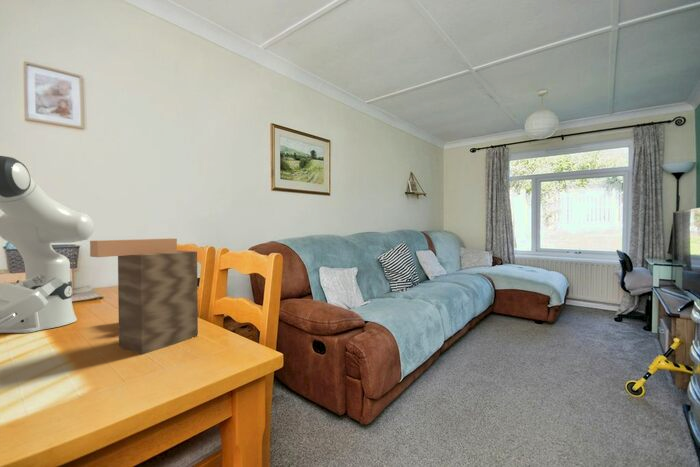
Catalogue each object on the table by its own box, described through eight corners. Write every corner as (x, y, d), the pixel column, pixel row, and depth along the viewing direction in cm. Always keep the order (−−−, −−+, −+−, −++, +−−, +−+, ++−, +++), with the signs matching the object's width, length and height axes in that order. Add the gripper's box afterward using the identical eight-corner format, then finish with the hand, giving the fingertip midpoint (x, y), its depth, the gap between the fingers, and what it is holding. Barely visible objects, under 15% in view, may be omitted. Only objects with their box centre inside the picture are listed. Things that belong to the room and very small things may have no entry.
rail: (97, 257, 77) (97, 241, 77) (90, 256, 79) (90, 240, 79) (176, 251, 95) (176, 238, 95) (169, 251, 97) (169, 238, 97)
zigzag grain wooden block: (142, 354, 83) (140, 255, 82) (118, 345, 89) (117, 253, 88) (197, 336, 97) (197, 251, 96) (174, 329, 103) (173, 250, 102)
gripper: (-27, 318, 55) (61, 270, 65) (-55, 303, 65) (25, 264, 75) (0, 343, 58) (80, 294, 68) (-30, 326, 68) (44, 285, 78)
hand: (51, 278), depth 72 cm, fingers open, 8 cm apart
